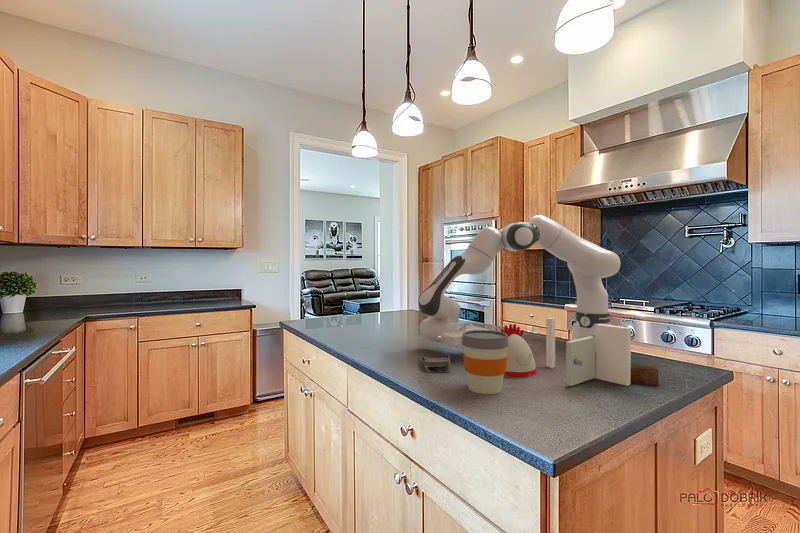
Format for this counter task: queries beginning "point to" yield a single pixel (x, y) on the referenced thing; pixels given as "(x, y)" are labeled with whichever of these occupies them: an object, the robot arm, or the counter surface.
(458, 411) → the counter surface
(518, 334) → the kitchen timer
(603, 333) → the door frame
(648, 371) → the brick
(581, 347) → the door
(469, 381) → the reusable coffee cup
